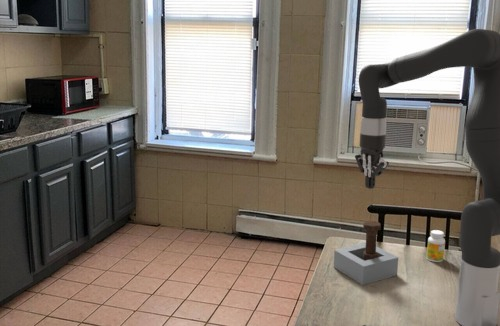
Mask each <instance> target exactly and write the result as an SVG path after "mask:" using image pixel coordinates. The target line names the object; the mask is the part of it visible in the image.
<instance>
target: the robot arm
mask: <svg viewBox="0 0 500 326" xmlns="http://www.w3.org/2000/svg"><path fill="white" fill-rule="evenodd" d="M461 67H463V68H464V67H465V68H466V67H469V68H472V70H473V80H474V81H473V82H474V85H473V87H474V88H473V93H472V97H471V101H470V104H469V107H468V110H467V113H466V117H465V124H464V125H465V128H464V129H465V133H464V134H465V146H466V147H465V148H466V151H467V153H468V156H469V158H470V159H471V162H472V163H473V165H474V166H475V168H476V170H477V172H478V173H479V176H480V178H481V183H482V192H483V193H482V195H483V196H482V198H483V199H481V200H477V201H476V200H475V201H472V202H468V203H467V204H466V205H465V206H464V207H463V209H462V212H461V217H460V229H459V230H460V231H459V247H460V251H461V259H460V267H459V277H458V285H457V287H458V288H457V295H456V304H455V313H454V319H455V321H456V322H457V323H458V324H459V325H461V326H497V322H498V313H499V308H500V292H499V291H498V287H499V286H498V285H499V278H500V277H499V276H500V251H499V250H498V249H497V248H495V247H493V246H492V237H496V236H499V235H500V32H498V31H495V30H492V29H486V28H485V29H484V28H474V29H470V30H467V31H466V32H465V31H464V32H463V33H461V34H459V35H457V36H455V37H453V38H451V39H449V40H447V41H445V42H443V43H441V44H438V45H435V46H433V47H430V48H426V49H423V50H420V51H416V52H413V53H409V54H405V55H403V56H400V57H396V58H394V59H392V60H391V61H389V62H386V63H379V64H368V65H364V66H363V67H362V68H361V69H360V72H359V75H358V87H359V92H360V98H361V101H362V106H361V107H362V108H361V109H362V110H361V121H360V129H359V130H360V131H359V147H360V148H361V149H360V153H358V154H355V156H354V158H355V161H356V163H357V166H358V168H359V171H360V173H362V174H364V176H365V182H364V186H365V188H366V189H369V190H371V189H374V188H375V186H376V177H378V176H382V174H383V173H384V171H385V170H386V169H387V167H388V166H389V165H390V163H389V161H388V160H387V161H386V160H385V158H384V153H383V151H384V149H385V148H386V141H387V140H386V136H387V109H388V106H387V105H388V102H387V100H386V98H385V97H383V96H381V94H380V89H384V88H385V89H386V88H390V87H392V86H395V85H398V84H400V83H405V82H410V81H414V80H418V79H422V78H424V77H427V76H429V75H431V74H433V73H435V72H438V71H441V70H445V69H451V68H461Z"/></svg>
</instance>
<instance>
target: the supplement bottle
mask: <svg viewBox="0 0 500 326" xmlns="http://www.w3.org/2000/svg"><path fill="white" fill-rule="evenodd" d="M444 235H445V234H444V231H442V230H438V229H433V230H431V231H430V236H429V237H428V238H427V247H426V259H427V260H428V261H430V262H433V263H442V262H443V261H444V256H445V248H446V247H445V246H446V240H445V238H444Z"/></svg>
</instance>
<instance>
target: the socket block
mask: <svg viewBox="0 0 500 326" xmlns="http://www.w3.org/2000/svg"><path fill="white" fill-rule="evenodd" d="M365 249H366V242H363V243H359V244H355V245H350V246H345V247H341V248H338V249H335V250H333V251H334V255H333V269H336V270H337V271H339V272H340V273H342V274H344V275H346V276H347V277H348V278H350V279H352V280H354V281H355V282H357V283H359V285H363V286H365V285H368V284H371V283H374V282H377V281H381V280H385V279H388V278H392V277H395V276H397V275H398V268H399V257H398V256H396V255H394V254H392V253H391V252H388V251H387V250H384V249H382V248H381V247H379V246H377V245H376V252H377V253H378V258H374V259H370V260H366V261H365V259H364V258H363V251H365Z"/></svg>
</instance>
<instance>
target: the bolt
mask: <svg viewBox="0 0 500 326" xmlns="http://www.w3.org/2000/svg"><path fill="white" fill-rule="evenodd" d="M381 225H382V224H381V223H380V222H379V221H376V220H375V221H374V220H365V221H363V223H362V227H363V230H365V243H366V249H365V251H363V258H364V259H365V261H366V260H370V259H374V258H378V253H377V252H376V246H377V238H378V237H377V236H378V235H377V234H378V231H381V230H382V229H381V227H382V226H381Z"/></svg>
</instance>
